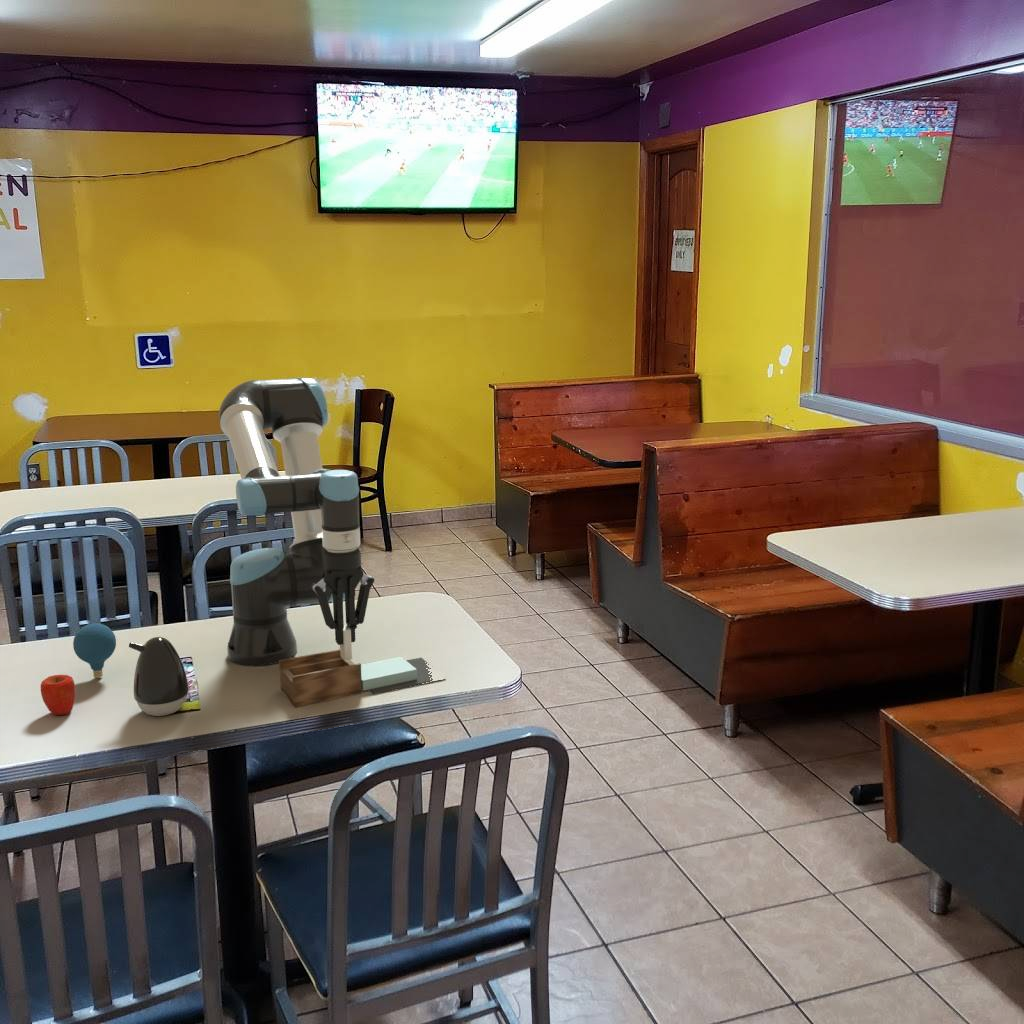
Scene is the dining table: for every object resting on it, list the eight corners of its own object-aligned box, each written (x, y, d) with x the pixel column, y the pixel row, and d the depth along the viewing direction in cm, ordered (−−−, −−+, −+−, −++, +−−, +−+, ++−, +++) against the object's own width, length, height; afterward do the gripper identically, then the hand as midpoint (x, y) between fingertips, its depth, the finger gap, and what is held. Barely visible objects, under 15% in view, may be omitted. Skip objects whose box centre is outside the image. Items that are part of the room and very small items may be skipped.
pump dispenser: (142, 700, 205) (135, 629, 202) (195, 698, 206) (189, 627, 203) (128, 722, 195) (120, 648, 192) (183, 720, 196) (177, 646, 193)
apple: (36, 715, 199) (32, 679, 197) (64, 703, 204) (60, 668, 202) (56, 722, 196) (52, 685, 194) (84, 710, 201) (80, 675, 199)
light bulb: (79, 688, 211) (73, 634, 208) (75, 674, 218) (69, 621, 216) (122, 681, 215) (116, 627, 212) (116, 667, 222) (111, 615, 219)
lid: (363, 690, 209) (362, 680, 208) (348, 676, 216) (348, 667, 215) (417, 679, 215) (416, 669, 214) (401, 666, 222) (401, 656, 221)
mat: (373, 694, 208) (373, 692, 208) (352, 672, 219) (352, 670, 219) (445, 679, 215) (445, 677, 215) (421, 659, 226) (421, 657, 226)
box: (294, 707, 202) (293, 677, 201) (280, 689, 211) (279, 660, 209) (362, 693, 208) (360, 664, 207) (345, 676, 217) (344, 648, 216)
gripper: (316, 557, 199) (322, 670, 205) (379, 547, 205) (382, 657, 211) (304, 547, 205) (309, 657, 211) (364, 539, 212) (368, 645, 217)
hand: (346, 657), depth 211 cm, fingers closed
